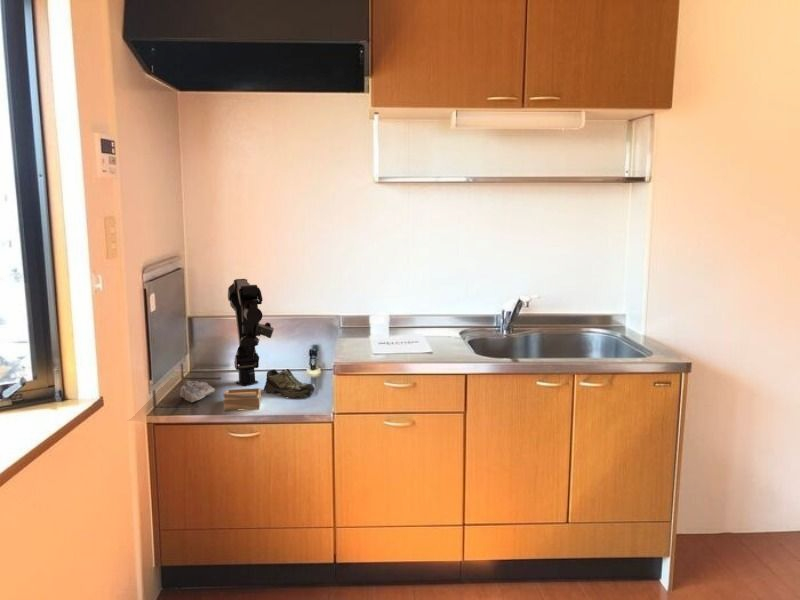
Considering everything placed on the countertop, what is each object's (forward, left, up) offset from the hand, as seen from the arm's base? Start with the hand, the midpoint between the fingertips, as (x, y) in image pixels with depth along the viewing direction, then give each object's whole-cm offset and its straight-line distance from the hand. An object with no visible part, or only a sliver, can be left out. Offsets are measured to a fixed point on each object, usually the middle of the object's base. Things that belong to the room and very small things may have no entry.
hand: (251, 359), depth 254 cm
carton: (+9, -11, -13) cm, 19 cm away
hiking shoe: (+11, +8, -13) cm, 19 cm away
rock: (-10, -18, -13) cm, 24 cm away
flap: (+16, -17, -7) cm, 24 cm away
